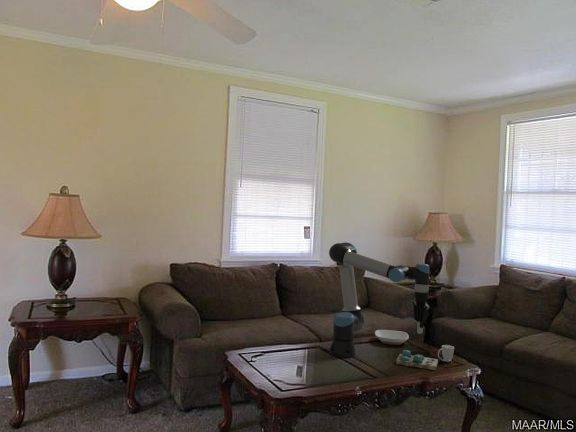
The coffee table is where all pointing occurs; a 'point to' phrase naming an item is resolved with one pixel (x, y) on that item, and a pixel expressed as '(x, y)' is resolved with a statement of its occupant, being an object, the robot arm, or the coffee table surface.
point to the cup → (447, 352)
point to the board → (426, 363)
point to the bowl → (391, 337)
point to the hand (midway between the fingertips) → (419, 333)
